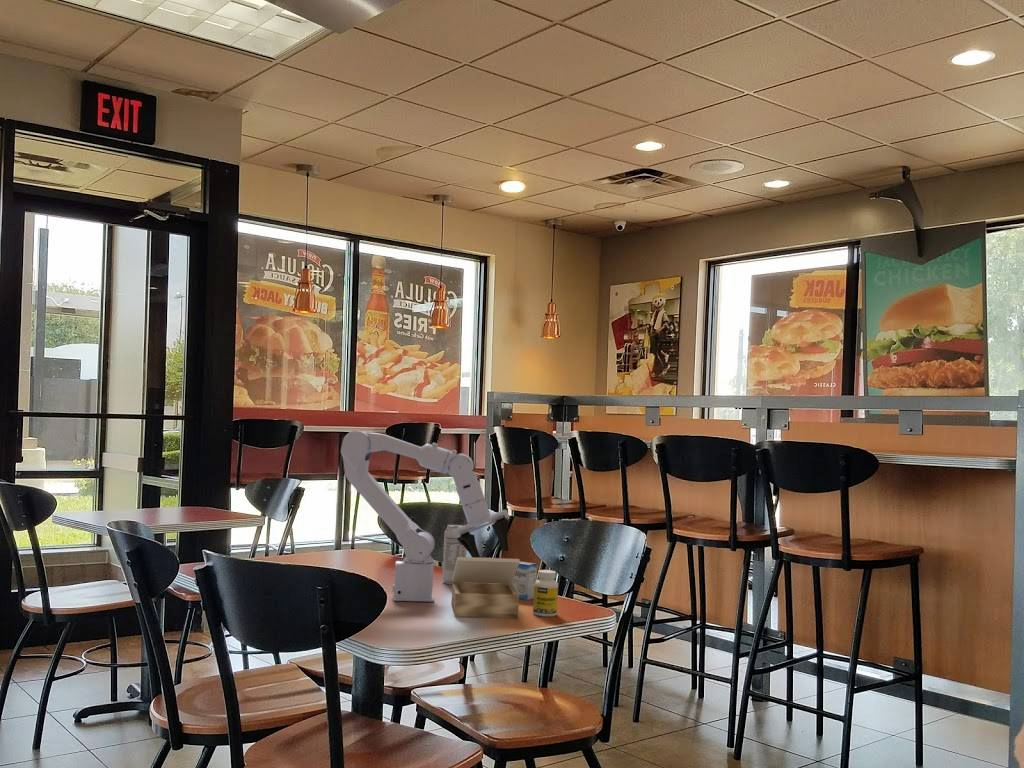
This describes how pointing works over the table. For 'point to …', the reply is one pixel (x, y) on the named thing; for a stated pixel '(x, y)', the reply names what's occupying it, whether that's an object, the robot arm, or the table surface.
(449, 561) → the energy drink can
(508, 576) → the lid
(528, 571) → the medicine box
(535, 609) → the supplement bottle
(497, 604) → the crate
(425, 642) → the table surface
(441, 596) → the table surface
